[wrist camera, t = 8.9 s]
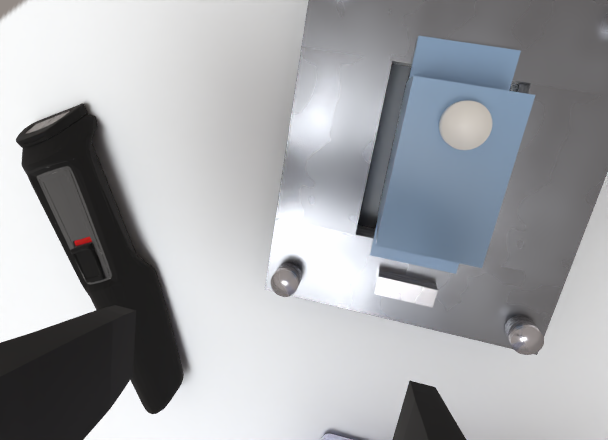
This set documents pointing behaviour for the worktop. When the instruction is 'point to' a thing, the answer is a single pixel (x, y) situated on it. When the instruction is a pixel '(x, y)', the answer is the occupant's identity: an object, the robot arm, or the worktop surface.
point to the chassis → (520, 190)
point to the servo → (451, 155)
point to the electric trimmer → (101, 244)
